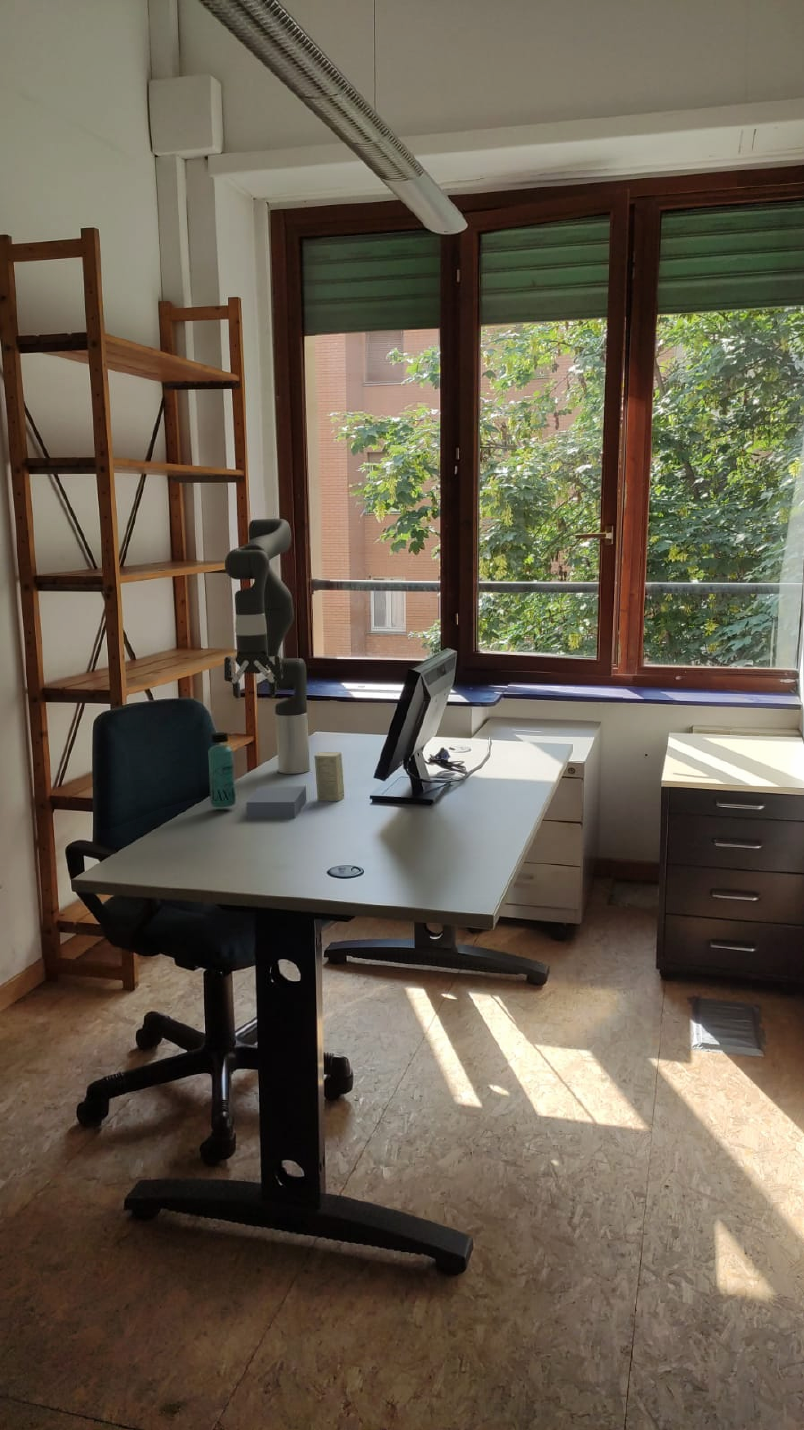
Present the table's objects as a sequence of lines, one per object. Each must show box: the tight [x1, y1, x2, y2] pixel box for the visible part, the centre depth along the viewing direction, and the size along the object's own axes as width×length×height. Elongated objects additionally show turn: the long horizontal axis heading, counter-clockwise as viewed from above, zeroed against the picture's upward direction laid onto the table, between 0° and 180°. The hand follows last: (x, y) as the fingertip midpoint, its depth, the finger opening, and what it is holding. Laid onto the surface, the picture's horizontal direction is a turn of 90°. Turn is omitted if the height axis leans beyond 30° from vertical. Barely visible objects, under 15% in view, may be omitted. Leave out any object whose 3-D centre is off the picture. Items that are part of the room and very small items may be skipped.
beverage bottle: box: [207, 731, 237, 808], centre depth 268 cm, size 6×7×20 cm
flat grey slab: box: [245, 785, 308, 819], centre depth 268 cm, size 16×12×4 cm
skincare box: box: [314, 751, 345, 802], centre depth 275 cm, size 6×4×12 cm
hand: (255, 697), depth 261 cm, fingers open, 8 cm apart
